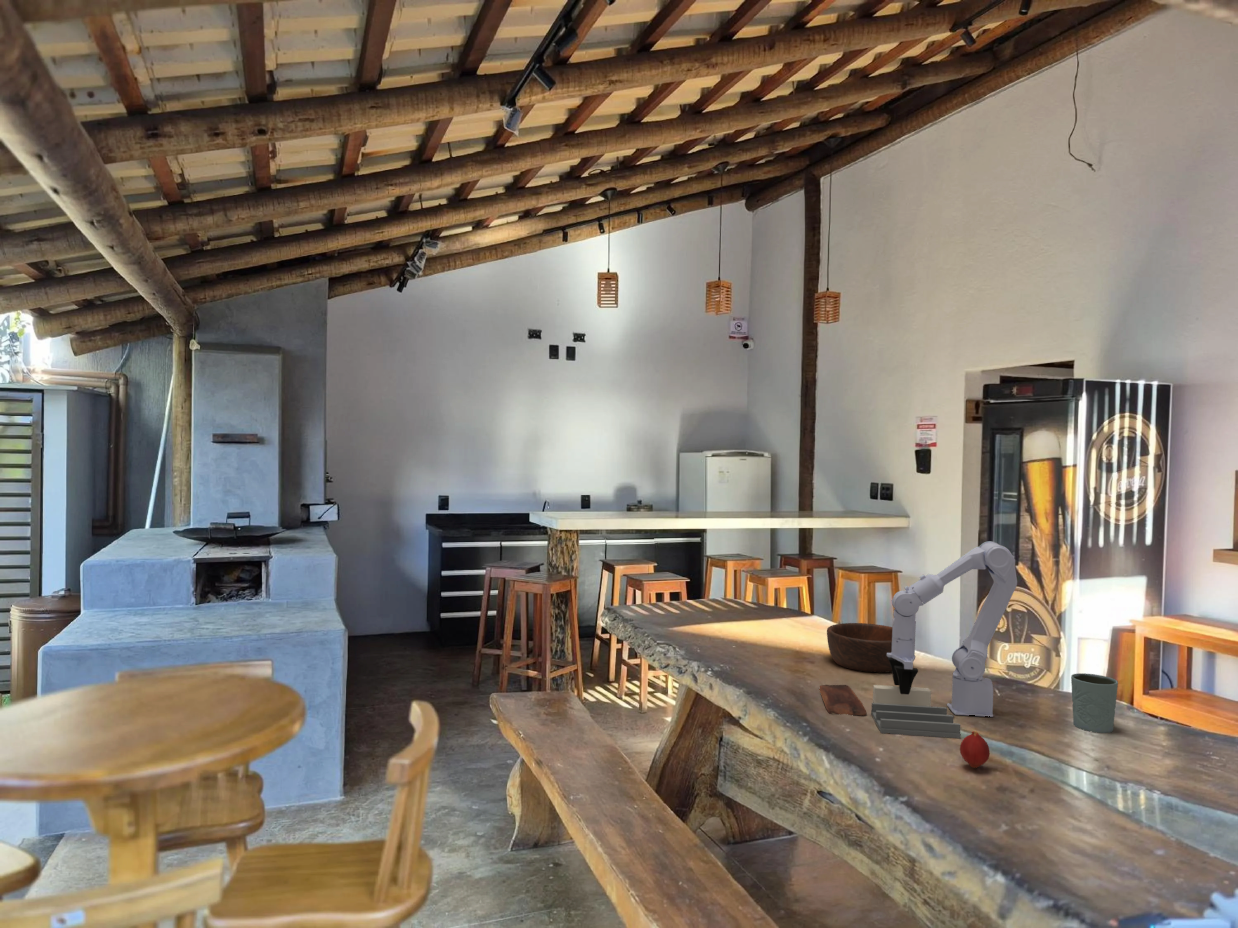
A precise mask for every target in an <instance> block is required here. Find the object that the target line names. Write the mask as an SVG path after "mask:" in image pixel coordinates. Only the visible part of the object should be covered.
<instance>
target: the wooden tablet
mask: <svg viewBox="0 0 1238 928" xmlns="http://www.w3.org/2000/svg"><path fill="white" fill-rule="evenodd" d="M819 687H820V689H819V688H818V691H819V690H820V691H819V693H821V694H820V696H821V698H822V701H823V702H824V703H823V704H824V706H825V709H826V711H827V712H828V713H829V714H831V715H839V714H840V715H847V714H848V716H852V715H853V717H866V716H867V713H868V712H867V710H866V707H865V706H864V704H863V703H862V701H861V699H860V698H859V697H858V696H857V695H856V693H855V692H854V690H853V689H852V688H851V687H850V686H849V685H847V684H821V685H819Z"/></svg>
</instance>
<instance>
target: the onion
mask: <svg viewBox="0 0 1238 928" xmlns="http://www.w3.org/2000/svg"><path fill="white" fill-rule="evenodd" d="M959 751H960V755H961V757H962V759H963V760H964V761H965V762H966V763H967V764H968V765H969V766H970V767H971V768H972V769H977V768H979V767H981V766H982V765H984V764H986V762H988V760H989V758H990V754H991V753H990V747H989V744H988V742H987V741H986V740H985V738H983V737H982V736H981V735H980V733H979V732H978V731H977V730H973V731H971V734H968V735H966V736H965V737H964V738H963V739H962V741H961V743H960V745H959Z"/></svg>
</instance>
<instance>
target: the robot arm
mask: <svg viewBox="0 0 1238 928" xmlns="http://www.w3.org/2000/svg"><path fill="white" fill-rule="evenodd" d="M986 569H987V570H988V572H989V574H990V576H991V578H992V580H993V583H992V586H991V587H990V590H989V592H988V594H987V596H986V598H985V600H984V603H983V605H982V607H981V609H980V611H979V613H978V615H977V617H976V619H975V621H974V624H973V626H972V628H971V630H970V633H969V634H968V636H966V638H965V639H964V640H963V641H962V643H961V645H960V646H959V647H958V648H956V649H955V650H954V651H953V653H952V654H951V655H952V656H951V662H952V664H953V666H954V668H955V669H954V671H953V673H952V680H951V681H952V685H951V687H952V688H951V689H952V690H951V703H949V702H948V703H946V706H947V707H948V709H949V710H950V711H951V712H952V714H954V716H955V715H956V716H969V715H975V716H974V717H985V716H988V718H993V717H994V714H993V711H994V709H993V708H994V707H993V706H994V685H993V682H992V679H990V678H988V677H984V673H985V671H986V661H987V658H988V654H989V653H988V652H989V651H988V649H989V646H990V643H991V641H992V638H993V637H994V635H995V632H996V630H997V628H998V626H999V624H1000V622H1001V620H1002V617H1003V616H1004V614H1005V611H1006V609H1007V607H1008V604H1009V603H1010V601H1011V598H1012V596H1013V594H1014V593H1015V590H1016V588H1017V586H1018V578H1017V571H1016V559H1015V557H1014V555H1013V554H1012V553H1011V551H1010V549H1008V547H1005V546H1004V545H1001V544H999V543H997V542H996V541H990V540H989V541H985V542H982V543H981V544H980V545H979V546H976V547H973V548H972V549H970V550H969V551H968V552H965V554H964V555H962V556H961V557H959V558H958V559H957V560H955V561H954V562H952V563H951V564H950V565H948V566H947V567H945V568H944V569H943V570H941V571H940V572H938V573H936V574H932V573H928V574H926V575H925V574H922V575H920V576H919V578H920V579H918V580H917V581H916V582H914V583H912V584H911V585H909V586H908V585H906V586H905V587H904V590H900V591H899V590H898V591H897V592H896V593H895V594H894V595H893V597H892V599H891V605H892V606H893V608H894V609H893V614H892V615H893V618H892V626H891V627H892V652H891V653H887V657H888V660H889V662H890V665H891V669H892V672H891V674H892V679H893V680H892V681H893V684H894V685H893V686H899V690H900V693H901V694H908V695H909V693H910V690H911V687H913V686H912V685H913V682H914V679H915V678H916V675H918V673H919V669H918V667H914V661H915V660H916V655H915V654H916V653H915V651H916V650H915V649H916V628H917V625H916V624H917V621H916V614H917V613H918V612H919V608H920V607H921V606H922V607H923V606H924V605H925V604H927V603H929V602H930V601H932V600H933V599H935V598H937V597H938V596H940V595H941V594H942V593H944V587H945V586H946V585H947V584H950V583H951V582H953V581H955V580H956V579H958V578H959V577H961V576H963V575H964V574H966V573H969V572H970V571H973V570H986ZM989 716H990V717H989Z"/></svg>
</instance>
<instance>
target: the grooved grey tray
mask: <svg viewBox="0 0 1238 928" xmlns="http://www.w3.org/2000/svg"><path fill="white" fill-rule="evenodd" d="M870 714H871V717H872V716H873V717H872V718H873V720H874V722H875V725H876V726H877V728H878V731H879V732H880V733H881V734H886V733H890V734H889V735H891V734H892V735H902V734H903V735H906V736H918V737H919V736H921V737H935V738H949V739H961V737H962V735H961V734H962V733H961V724H960V723H957V722H954V720H955V719H954V716H955V715H953V714H948V708H947V707H946V706H916V705H900V704H883V703H873V702H871V709H870Z"/></svg>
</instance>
